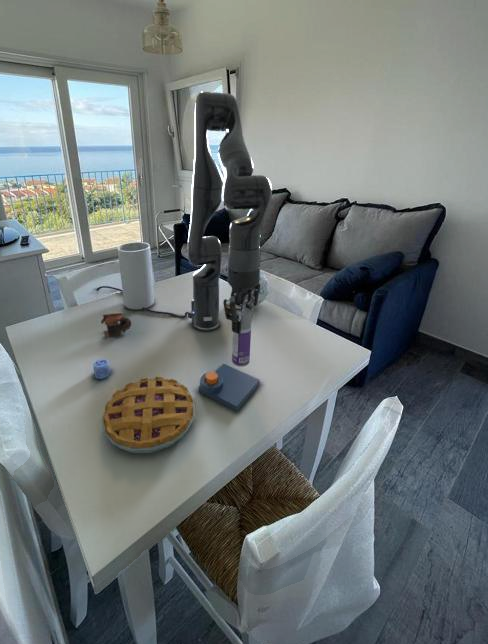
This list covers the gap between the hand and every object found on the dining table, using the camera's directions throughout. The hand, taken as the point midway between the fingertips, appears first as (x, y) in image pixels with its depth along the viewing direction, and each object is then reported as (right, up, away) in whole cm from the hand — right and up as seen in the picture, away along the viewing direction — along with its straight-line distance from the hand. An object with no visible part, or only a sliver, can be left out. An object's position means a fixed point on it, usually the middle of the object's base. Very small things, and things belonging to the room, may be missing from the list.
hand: (241, 327), depth 80 cm
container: (0, -10, +4) cm, 11 cm away
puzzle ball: (+9, +1, +53) cm, 53 cm away
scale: (-3, -18, +7) cm, 19 cm away
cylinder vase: (-37, +1, +54) cm, 65 cm away
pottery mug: (-41, -7, +34) cm, 54 cm away
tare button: (-8, -15, +5) cm, 18 cm away
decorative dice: (-39, -16, +12) cm, 44 cm away
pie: (-23, -22, -3) cm, 32 cm away
